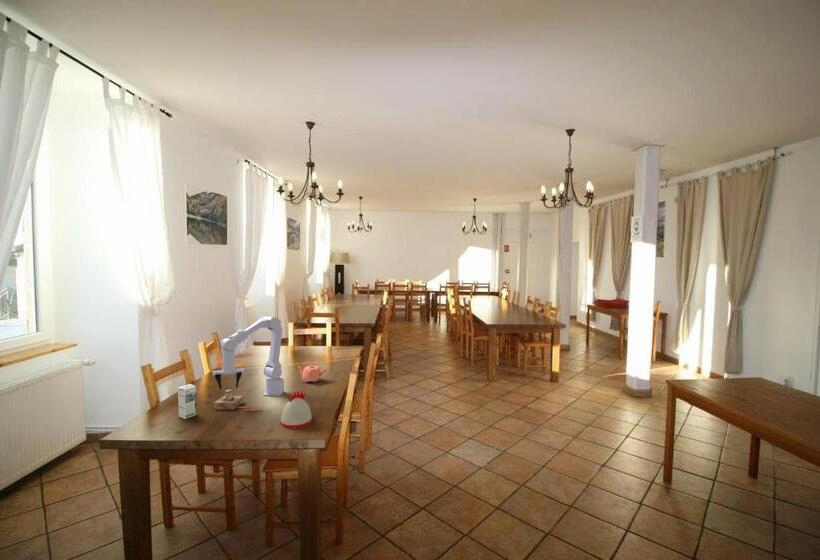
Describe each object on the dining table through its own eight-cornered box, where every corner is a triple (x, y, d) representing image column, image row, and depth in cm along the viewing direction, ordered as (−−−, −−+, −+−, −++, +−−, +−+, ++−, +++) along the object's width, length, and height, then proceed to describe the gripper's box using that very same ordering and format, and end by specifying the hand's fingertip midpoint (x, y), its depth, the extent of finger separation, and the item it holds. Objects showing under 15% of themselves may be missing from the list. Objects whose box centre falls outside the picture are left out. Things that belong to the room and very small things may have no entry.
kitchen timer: (315, 424, 179) (315, 392, 179) (285, 431, 172) (285, 398, 171) (306, 414, 191) (306, 384, 190) (277, 420, 184) (277, 389, 183)
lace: (264, 408, 197) (264, 407, 197) (261, 411, 194) (261, 410, 193) (234, 407, 198) (234, 406, 198) (231, 410, 194) (231, 409, 194)
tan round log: (233, 404, 202) (233, 389, 201) (230, 407, 199) (230, 391, 198) (227, 404, 202) (227, 389, 201) (224, 406, 199) (224, 391, 198)
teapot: (317, 376, 252) (317, 361, 252) (326, 381, 243) (326, 365, 242) (296, 381, 243) (296, 365, 242) (305, 385, 234) (305, 369, 233)
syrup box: (184, 419, 183) (184, 389, 182) (178, 416, 186) (177, 386, 185) (196, 415, 188) (196, 385, 187) (190, 412, 191) (189, 383, 190)
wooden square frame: (242, 402, 205) (242, 396, 205) (233, 409, 195) (233, 403, 195) (224, 402, 205) (224, 395, 205) (214, 409, 195) (214, 402, 195)
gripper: (244, 358, 205) (244, 384, 206) (213, 361, 200) (214, 387, 201) (243, 362, 199) (243, 388, 199) (212, 364, 194) (212, 391, 194)
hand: (228, 388), depth 200 cm, fingers open, 7 cm apart
